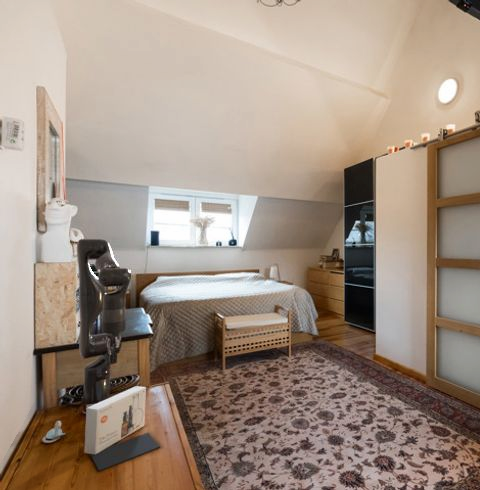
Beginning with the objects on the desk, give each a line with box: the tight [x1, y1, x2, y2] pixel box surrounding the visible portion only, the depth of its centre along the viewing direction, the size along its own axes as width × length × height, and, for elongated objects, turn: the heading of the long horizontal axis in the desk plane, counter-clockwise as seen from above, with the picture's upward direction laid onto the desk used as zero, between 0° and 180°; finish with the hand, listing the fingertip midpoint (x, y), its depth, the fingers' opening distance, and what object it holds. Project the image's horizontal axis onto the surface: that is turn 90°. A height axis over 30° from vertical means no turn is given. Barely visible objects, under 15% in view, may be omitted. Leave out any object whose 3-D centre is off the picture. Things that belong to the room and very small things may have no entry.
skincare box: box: [83, 385, 147, 455], centre depth 132 cm, size 21×6×16 cm, turn 168°
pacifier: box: [41, 420, 66, 444], centre depth 131 cm, size 7×6×6 cm
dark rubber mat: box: [89, 432, 161, 472], centre depth 125 cm, size 13×18×1 cm
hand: (113, 363), depth 136 cm, fingers closed
